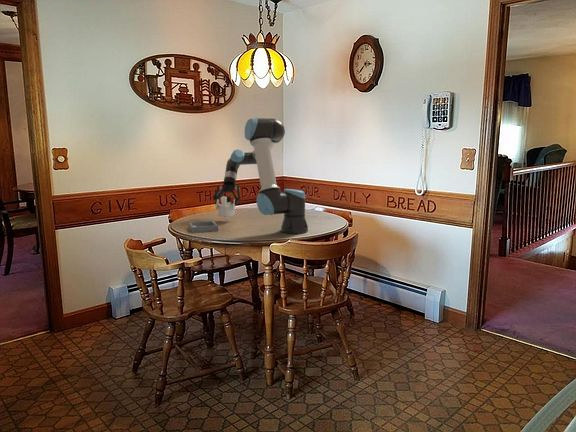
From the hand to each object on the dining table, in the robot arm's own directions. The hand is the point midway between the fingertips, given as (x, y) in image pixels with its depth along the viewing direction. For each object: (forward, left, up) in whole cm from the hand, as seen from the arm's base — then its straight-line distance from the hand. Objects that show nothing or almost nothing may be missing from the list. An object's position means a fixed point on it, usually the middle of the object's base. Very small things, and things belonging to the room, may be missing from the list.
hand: (225, 209), depth 272 cm
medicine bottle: (+3, -1, -5) cm, 6 cm away
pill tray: (-14, +16, -8) cm, 22 cm away
